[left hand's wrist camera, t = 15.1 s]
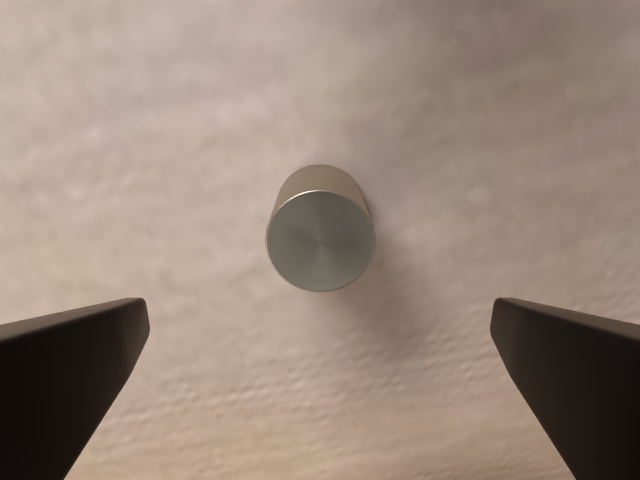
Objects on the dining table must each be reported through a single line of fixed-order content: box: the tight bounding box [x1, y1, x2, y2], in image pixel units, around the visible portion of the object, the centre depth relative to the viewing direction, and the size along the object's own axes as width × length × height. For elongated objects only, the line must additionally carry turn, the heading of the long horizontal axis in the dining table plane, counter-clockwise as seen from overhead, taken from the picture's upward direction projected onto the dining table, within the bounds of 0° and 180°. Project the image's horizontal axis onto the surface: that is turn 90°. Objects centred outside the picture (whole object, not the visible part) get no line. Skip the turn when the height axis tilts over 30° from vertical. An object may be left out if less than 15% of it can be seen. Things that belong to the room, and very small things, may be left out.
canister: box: [265, 165, 375, 292], centre depth 18 cm, size 4×4×4 cm
